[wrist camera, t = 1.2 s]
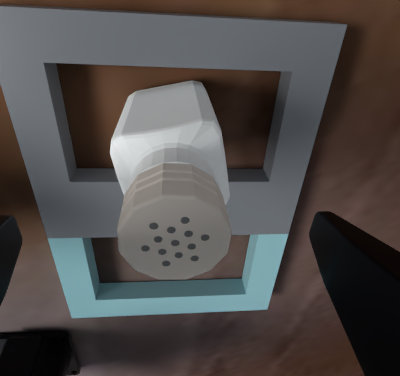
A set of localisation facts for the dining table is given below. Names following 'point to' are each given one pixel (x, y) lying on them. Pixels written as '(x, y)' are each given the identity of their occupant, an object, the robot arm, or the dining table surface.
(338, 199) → the dining table surface
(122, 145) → the white salt shaker
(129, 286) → the panel
